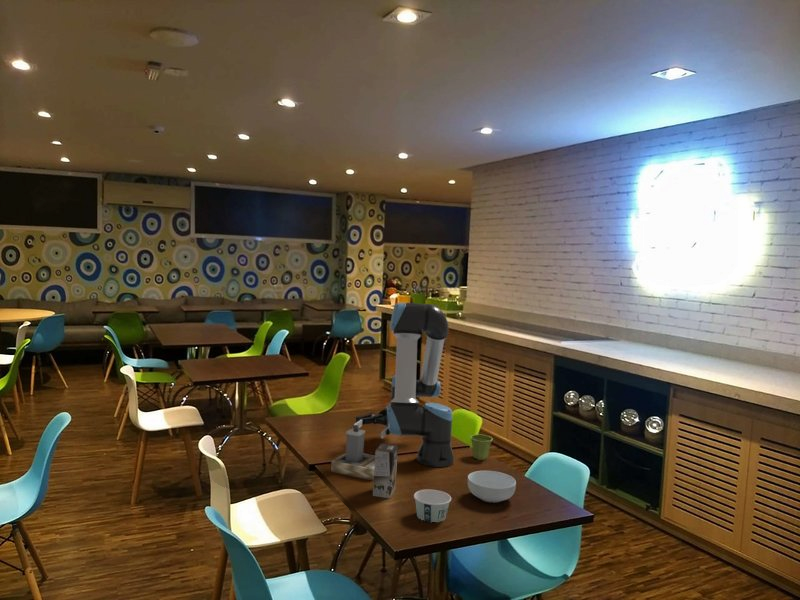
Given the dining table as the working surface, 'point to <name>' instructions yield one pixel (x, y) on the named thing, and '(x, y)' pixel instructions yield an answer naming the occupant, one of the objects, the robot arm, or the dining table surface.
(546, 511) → the dining table surface
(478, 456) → the plant pot
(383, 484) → the coffee box
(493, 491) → the cereal bowl
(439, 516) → the food container
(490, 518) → the dining table surface
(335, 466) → the tray
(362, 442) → the grey pepper mill
